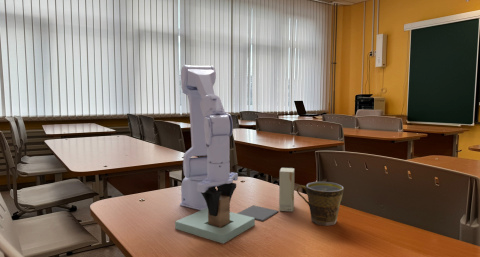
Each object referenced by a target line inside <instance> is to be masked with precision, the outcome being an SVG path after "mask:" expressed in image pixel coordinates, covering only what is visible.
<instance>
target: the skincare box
mask: <svg viewBox="0 0 480 257" xmlns="http://www.w3.org/2000/svg"><path fill="white" fill-rule="evenodd" d="M278 178H279V182H278V183H279V191H278V192H279V194H278V195H279V200H278V201H279V202H278V204H279V205H278V212H279V211H281V212H294V208H295V168H293V167H281V168H280V169H279V177H278Z"/></svg>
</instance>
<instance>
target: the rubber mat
mask: <svg viewBox="0 0 480 257" xmlns="http://www.w3.org/2000/svg"><path fill="white" fill-rule="evenodd" d="M236 213H237V214H241V215H245V216H249V217H253V218H255V221H260V222H264V221H266V220H267V219H269V218H271V217H273V216H275V215H276V214H277V213H279V210H277V209H276V210H275V209H271V208H267V207H261V206H259V205H251V206H248V207H247V208H245V209H243V210H241V211H239V212H236Z"/></svg>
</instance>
